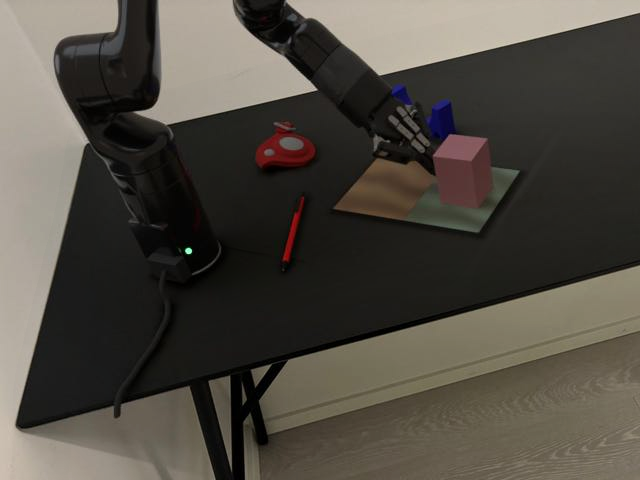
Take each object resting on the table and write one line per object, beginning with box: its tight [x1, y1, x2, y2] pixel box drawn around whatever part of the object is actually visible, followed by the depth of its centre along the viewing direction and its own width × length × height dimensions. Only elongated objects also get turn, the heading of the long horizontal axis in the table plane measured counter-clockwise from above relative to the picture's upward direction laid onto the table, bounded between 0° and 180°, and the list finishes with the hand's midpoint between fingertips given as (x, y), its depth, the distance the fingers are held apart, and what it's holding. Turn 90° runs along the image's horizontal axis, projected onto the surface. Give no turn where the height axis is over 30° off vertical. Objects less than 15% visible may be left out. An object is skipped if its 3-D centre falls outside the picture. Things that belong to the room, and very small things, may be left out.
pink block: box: [433, 134, 493, 209], centre depth 121 cm, size 6×6×8 cm
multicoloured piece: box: [332, 158, 521, 234], centre depth 127 cm, size 16×24×1 cm, turn 65°
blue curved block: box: [392, 83, 456, 142], centre depth 138 cm, size 12×4×6 cm, turn 47°
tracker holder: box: [254, 121, 316, 171], centre depth 138 cm, size 12×4×10 cm
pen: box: [281, 191, 306, 272], centre depth 123 cm, size 1×19×1 cm, turn 179°
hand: (441, 171), depth 123 cm, fingers closed
